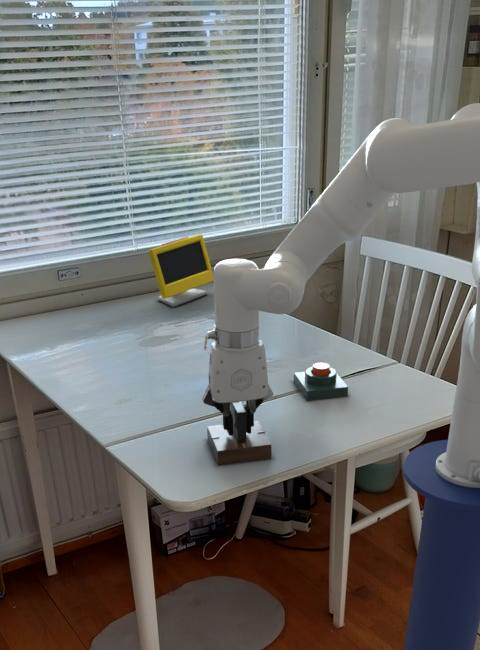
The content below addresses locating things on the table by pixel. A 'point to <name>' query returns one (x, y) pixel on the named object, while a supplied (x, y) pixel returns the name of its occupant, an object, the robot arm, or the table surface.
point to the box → (320, 385)
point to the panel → (238, 445)
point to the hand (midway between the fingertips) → (238, 430)
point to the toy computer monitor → (181, 269)
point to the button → (321, 369)
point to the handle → (239, 421)
